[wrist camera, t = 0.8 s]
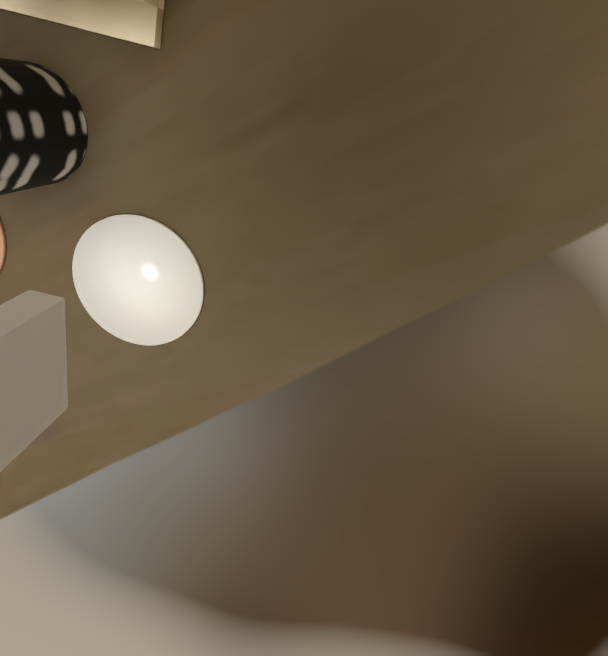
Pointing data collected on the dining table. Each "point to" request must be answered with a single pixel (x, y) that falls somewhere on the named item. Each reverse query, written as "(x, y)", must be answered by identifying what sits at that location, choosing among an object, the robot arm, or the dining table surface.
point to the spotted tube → (37, 127)
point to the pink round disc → (2, 245)
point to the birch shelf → (100, 16)
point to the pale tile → (138, 279)
